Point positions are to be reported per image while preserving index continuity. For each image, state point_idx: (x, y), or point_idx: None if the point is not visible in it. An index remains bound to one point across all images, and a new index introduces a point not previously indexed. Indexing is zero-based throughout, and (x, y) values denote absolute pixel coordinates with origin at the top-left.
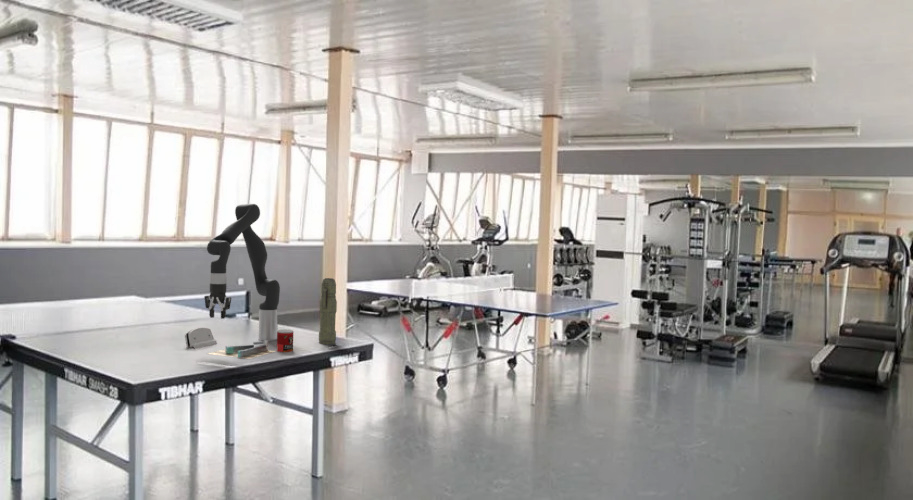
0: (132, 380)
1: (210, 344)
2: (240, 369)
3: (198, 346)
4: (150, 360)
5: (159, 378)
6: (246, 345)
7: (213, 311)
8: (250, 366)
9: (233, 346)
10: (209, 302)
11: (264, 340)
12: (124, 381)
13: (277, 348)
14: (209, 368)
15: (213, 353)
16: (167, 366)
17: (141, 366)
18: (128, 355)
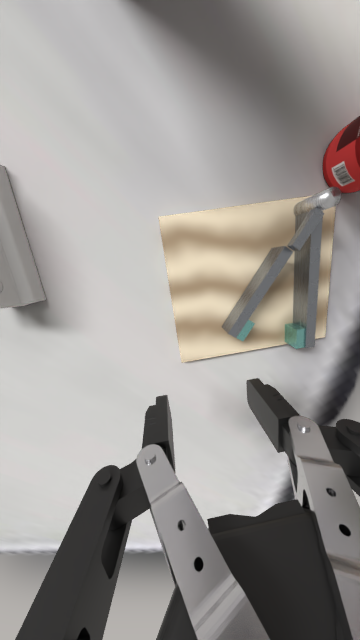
0: None
1: (15, 210)
2: (346, 402)
3: (35, 280)
4: (116, 461)
5: None
6: (274, 275)
7: (169, 436)
8: (350, 371)
9: (249, 317)
10: (101, 563)
11: (326, 200)
12: None
13: (347, 183)
14: None
15: (193, 347)
16: (199, 469)
17: None
18: (18, 464)
